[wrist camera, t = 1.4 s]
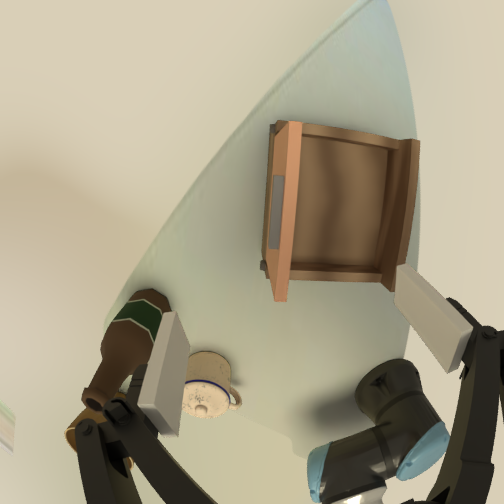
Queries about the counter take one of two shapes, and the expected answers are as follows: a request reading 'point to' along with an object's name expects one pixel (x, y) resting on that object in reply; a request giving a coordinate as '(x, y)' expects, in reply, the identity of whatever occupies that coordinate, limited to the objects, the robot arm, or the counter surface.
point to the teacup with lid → (208, 386)
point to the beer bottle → (126, 346)
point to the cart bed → (349, 205)
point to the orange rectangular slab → (283, 207)
